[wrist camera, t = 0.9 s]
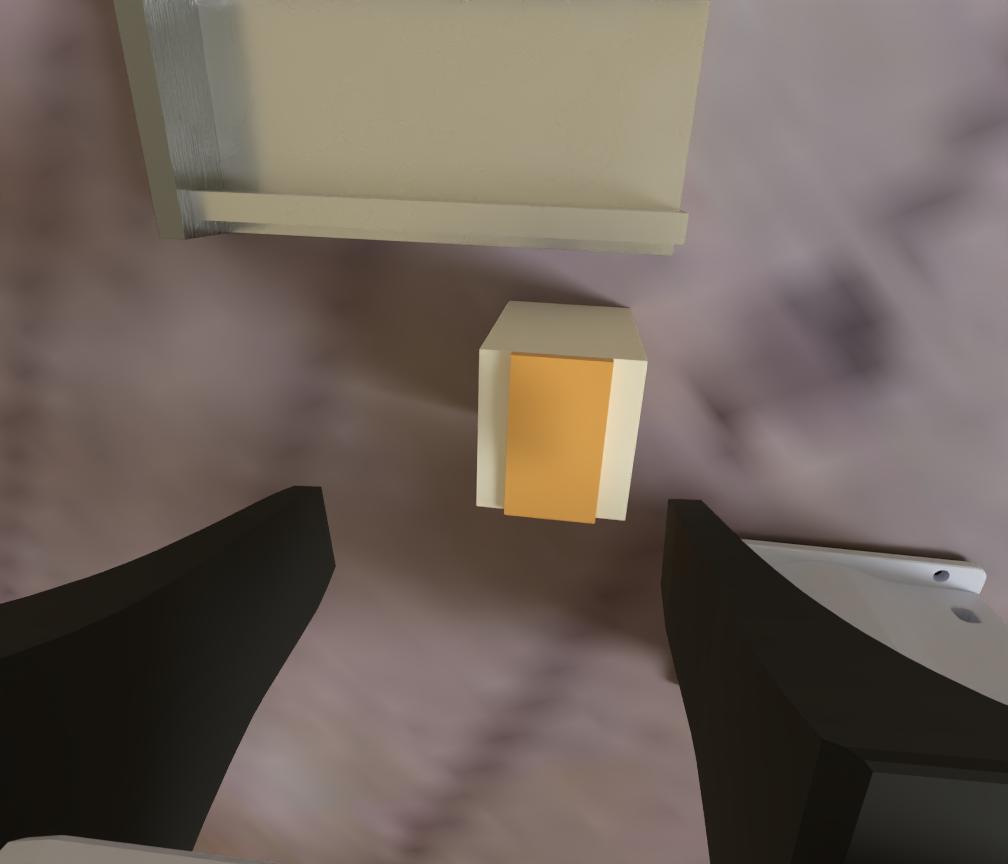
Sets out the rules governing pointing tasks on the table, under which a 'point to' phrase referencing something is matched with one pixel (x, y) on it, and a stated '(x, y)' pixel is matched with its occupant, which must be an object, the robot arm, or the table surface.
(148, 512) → the table surface
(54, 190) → the table surface
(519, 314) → the block
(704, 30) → the grey piece
